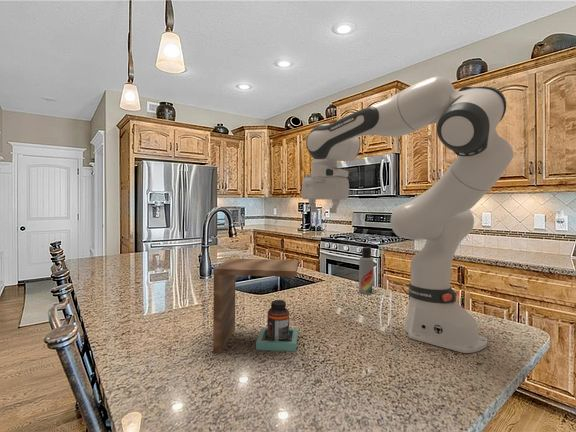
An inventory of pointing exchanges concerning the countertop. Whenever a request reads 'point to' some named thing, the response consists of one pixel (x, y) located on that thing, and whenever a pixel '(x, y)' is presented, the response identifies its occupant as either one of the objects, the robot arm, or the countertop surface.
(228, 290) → the wooden l-shaped bracket
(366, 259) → the lotion bottle
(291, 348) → the socket
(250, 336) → the countertop surface
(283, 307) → the supplement bottle
